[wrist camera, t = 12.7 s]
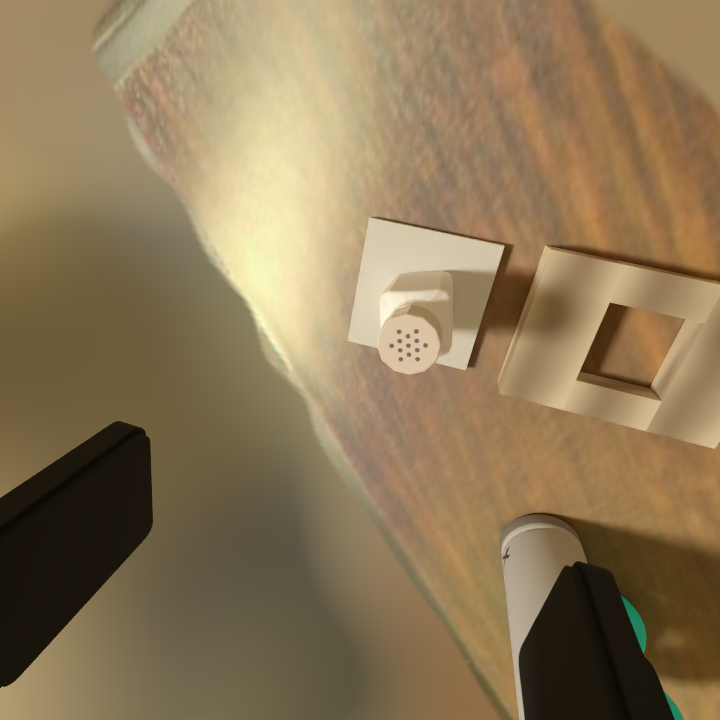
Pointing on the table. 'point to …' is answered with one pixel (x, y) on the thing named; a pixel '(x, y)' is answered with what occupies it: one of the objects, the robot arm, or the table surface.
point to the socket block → (578, 329)
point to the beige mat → (425, 254)
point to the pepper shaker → (416, 320)
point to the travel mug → (533, 573)
